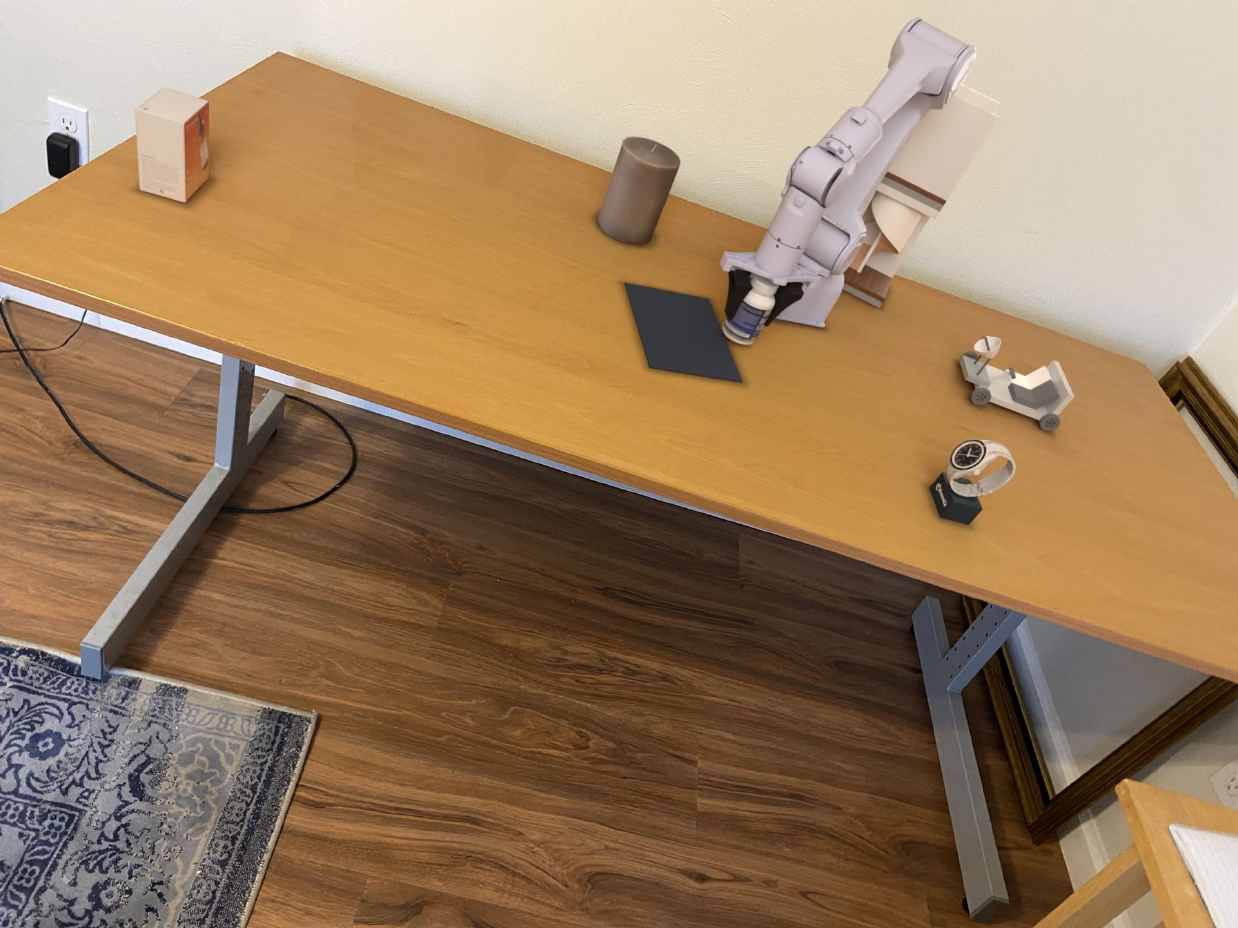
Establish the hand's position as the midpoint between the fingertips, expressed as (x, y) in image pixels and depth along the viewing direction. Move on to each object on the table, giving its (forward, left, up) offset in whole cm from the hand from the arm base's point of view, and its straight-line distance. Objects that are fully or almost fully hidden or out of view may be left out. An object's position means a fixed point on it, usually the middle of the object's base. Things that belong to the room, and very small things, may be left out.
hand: (745, 318), depth 122 cm
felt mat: (+9, 0, -4) cm, 10 cm away
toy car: (-48, +2, -4) cm, 49 cm away
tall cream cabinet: (-32, -26, -4) cm, 42 cm away
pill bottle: (0, 0, -3) cm, 3 cm away
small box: (+77, -13, -4) cm, 78 cm away
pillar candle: (+13, -27, -4) cm, 30 cm away
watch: (-23, +30, -4) cm, 38 cm away
